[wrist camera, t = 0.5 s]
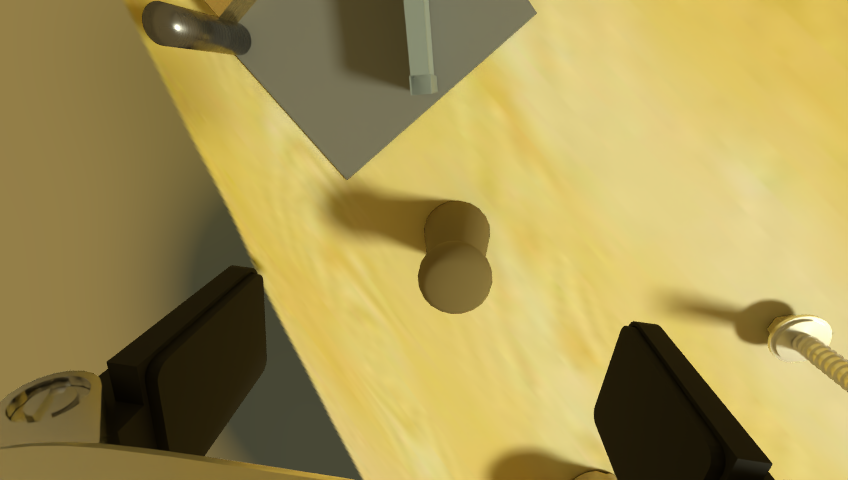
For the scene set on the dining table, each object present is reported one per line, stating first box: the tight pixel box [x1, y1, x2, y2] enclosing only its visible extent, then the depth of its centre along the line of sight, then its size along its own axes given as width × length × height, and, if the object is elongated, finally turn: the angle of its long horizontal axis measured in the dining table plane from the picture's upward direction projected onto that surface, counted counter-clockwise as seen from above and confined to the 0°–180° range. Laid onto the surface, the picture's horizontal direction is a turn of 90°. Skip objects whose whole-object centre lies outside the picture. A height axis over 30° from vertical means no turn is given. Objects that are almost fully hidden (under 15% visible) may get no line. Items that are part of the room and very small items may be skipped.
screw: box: [767, 315, 848, 392], centre depth 31 cm, size 13×5×5 cm
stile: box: [142, 0, 257, 55], centre depth 28 cm, size 6×4×9 cm, turn 130°
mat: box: [219, 0, 537, 180], centre depth 31 cm, size 20×16×1 cm
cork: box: [418, 201, 492, 314], centre depth 32 cm, size 6×6×11 cm
